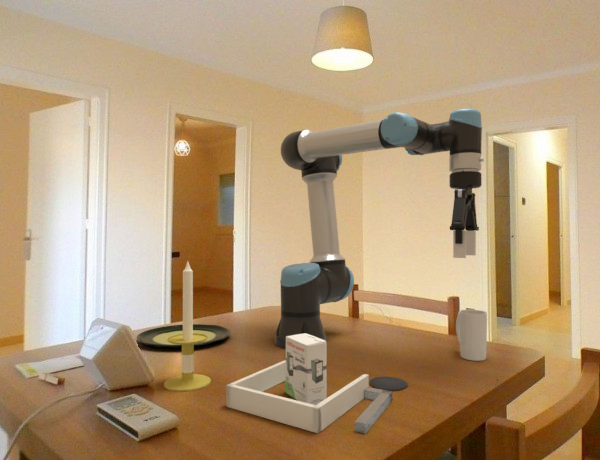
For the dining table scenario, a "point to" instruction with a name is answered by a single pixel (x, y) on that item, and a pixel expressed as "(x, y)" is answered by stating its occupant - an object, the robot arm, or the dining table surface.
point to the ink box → (306, 368)
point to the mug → (472, 334)
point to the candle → (187, 343)
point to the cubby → (291, 400)
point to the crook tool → (373, 408)
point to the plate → (161, 334)
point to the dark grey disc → (388, 383)
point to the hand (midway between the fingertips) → (465, 256)
